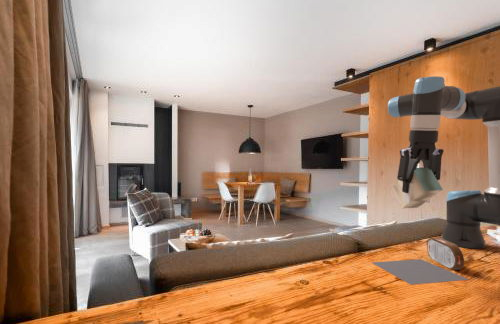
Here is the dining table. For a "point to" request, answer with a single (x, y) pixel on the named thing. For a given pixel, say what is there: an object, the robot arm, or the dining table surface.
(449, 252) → the tin
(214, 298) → the dining table surface
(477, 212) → the robot arm
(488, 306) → the dining table surface
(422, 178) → the block
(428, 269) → the mat
